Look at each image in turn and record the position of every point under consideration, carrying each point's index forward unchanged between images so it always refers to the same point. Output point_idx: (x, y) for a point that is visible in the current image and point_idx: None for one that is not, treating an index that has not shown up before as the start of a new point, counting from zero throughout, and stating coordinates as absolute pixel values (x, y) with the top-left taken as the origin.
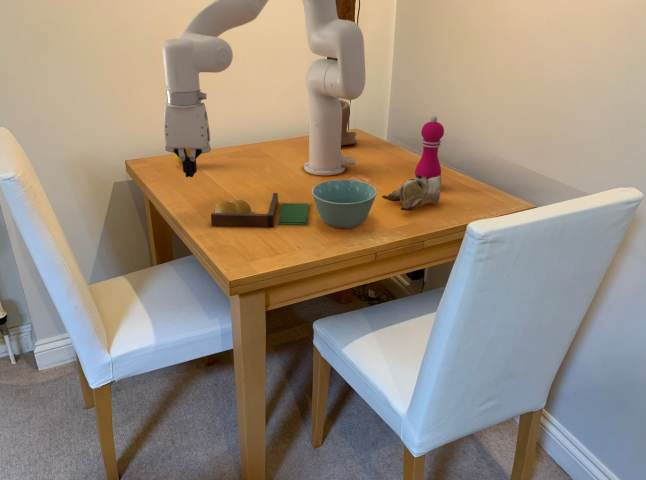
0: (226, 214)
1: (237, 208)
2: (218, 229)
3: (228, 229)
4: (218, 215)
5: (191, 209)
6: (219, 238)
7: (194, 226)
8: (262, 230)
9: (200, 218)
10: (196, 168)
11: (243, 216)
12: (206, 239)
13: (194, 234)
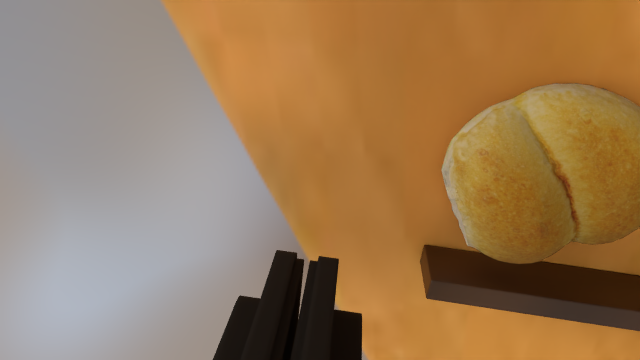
0: (504, 305)
1: (580, 237)
2: None
3: None
4: (463, 303)
5: (310, 63)
6: (445, 351)
7: (345, 254)
8: None
9: (367, 180)
10: (360, 329)
11: (586, 319)
12: (397, 351)
13: None
